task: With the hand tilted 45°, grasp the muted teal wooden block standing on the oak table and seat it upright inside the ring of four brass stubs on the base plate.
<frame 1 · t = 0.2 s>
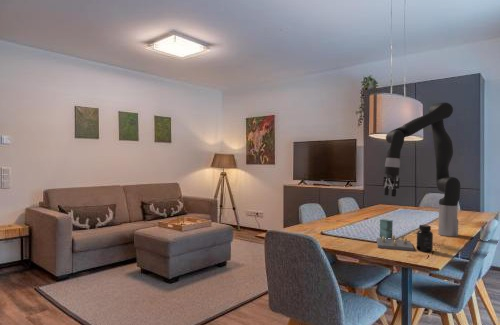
hand: (389, 195, 189), 23 cm above the table, tool pointing down, fingers open, 8 cm apart
base plate: (394, 245, 172), on the table
teal block: (385, 238, 187), on the table
supplement bottle: (424, 250, 164), on the table
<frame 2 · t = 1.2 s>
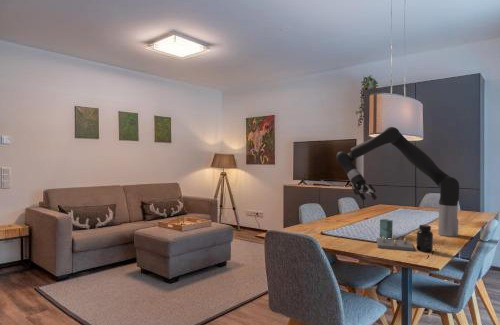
hand: (370, 199, 197), 20 cm above the table, tool tilted 45°, fingers open, 8 cm apart
nothing on the table moved.
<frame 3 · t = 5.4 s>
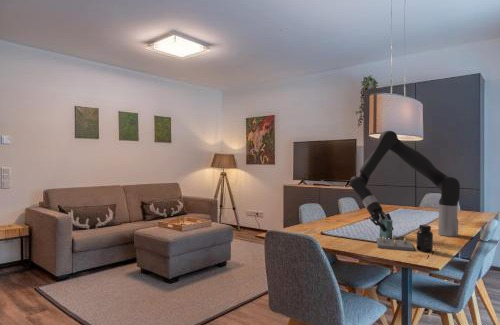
hand: (388, 230, 185), 5 cm above the table, tool tilted 45°, fingers closed on teal block, 4 cm apart
teal block: (385, 238, 187), on the table, touching gripper
everything else where it was.
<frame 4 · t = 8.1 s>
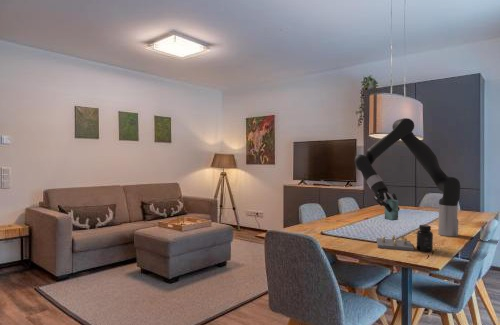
hand: (394, 211, 173), 17 cm above the table, tool tilted 45°, fingers closed on teal block, 4 cm apart
teal block: (391, 219, 175), point 12 cm above the table, touching gripper
everything else where it was.
when the fingers open (7 cm above the table, at t = 10.6 s): teal block drops 1 cm, resting on base plate.
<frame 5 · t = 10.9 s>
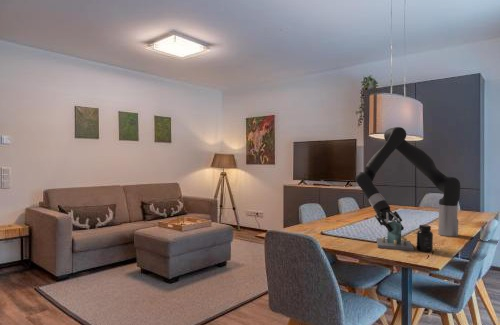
hand: (397, 230, 170), 8 cm above the table, tool tilted 45°, fingers open, 7 cm apart
teal block: (394, 242, 172), point 1 cm above the table, touching base plate
everything else where it was.
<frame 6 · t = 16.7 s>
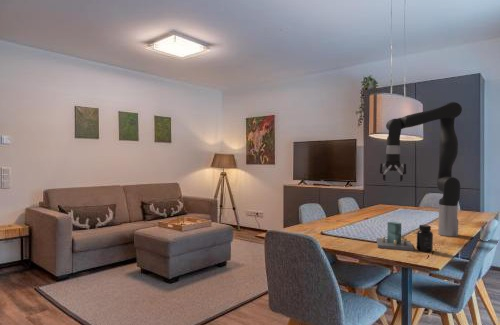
hand: (392, 181, 200), 30 cm above the table, tool pointing down, fingers open, 8 cm apart
nothing on the table moved.
at the end: teal block 0.1 cm off-centre on the base plate, point 1.5 cm above the base plate's base; teal block tilted 0°; the gripper is holding nothing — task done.
